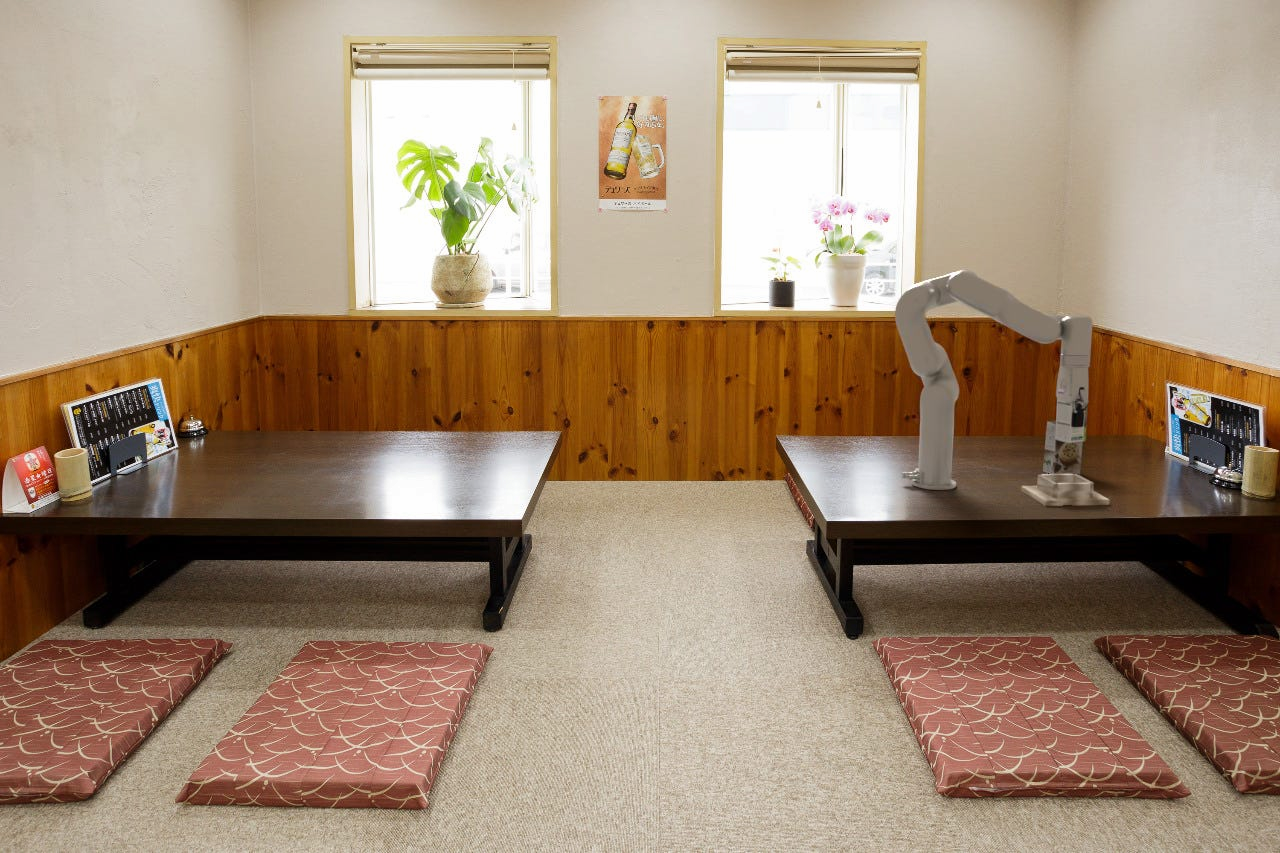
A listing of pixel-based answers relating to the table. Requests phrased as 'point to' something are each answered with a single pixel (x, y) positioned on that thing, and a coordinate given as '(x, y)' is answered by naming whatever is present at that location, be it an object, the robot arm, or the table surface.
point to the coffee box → (1061, 454)
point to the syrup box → (1068, 422)
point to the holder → (1064, 491)
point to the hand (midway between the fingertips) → (1070, 423)
